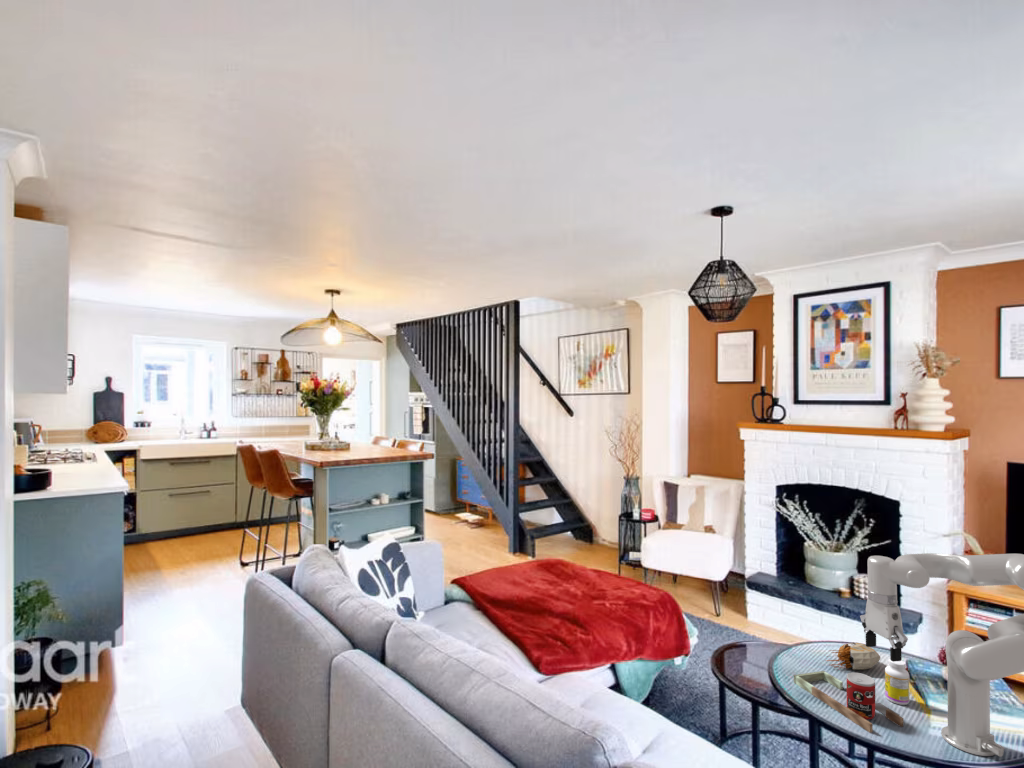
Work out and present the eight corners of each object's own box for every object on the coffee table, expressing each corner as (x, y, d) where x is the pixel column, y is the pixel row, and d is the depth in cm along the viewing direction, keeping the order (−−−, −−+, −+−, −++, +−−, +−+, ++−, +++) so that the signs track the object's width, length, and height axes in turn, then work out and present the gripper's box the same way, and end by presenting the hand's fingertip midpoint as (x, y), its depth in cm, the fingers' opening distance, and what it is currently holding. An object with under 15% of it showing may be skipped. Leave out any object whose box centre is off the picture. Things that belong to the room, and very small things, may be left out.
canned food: (844, 713, 175) (844, 678, 175) (849, 703, 181) (849, 669, 181) (872, 723, 170) (872, 687, 170) (877, 712, 175) (877, 677, 176)
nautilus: (836, 677, 198) (811, 660, 213) (892, 672, 200) (863, 655, 215) (834, 655, 199) (809, 639, 214) (890, 650, 200) (861, 634, 215)
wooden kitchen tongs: (914, 724, 169) (914, 716, 169) (869, 732, 165) (869, 724, 165) (833, 676, 198) (833, 669, 198) (793, 682, 194) (793, 675, 194)
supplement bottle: (887, 692, 188) (887, 654, 188) (911, 700, 183) (911, 661, 183) (882, 700, 183) (882, 661, 183) (907, 708, 178) (906, 668, 178)
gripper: (916, 607, 163) (918, 666, 162) (871, 587, 180) (872, 640, 179) (893, 608, 162) (894, 667, 161) (850, 588, 179) (851, 641, 178)
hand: (883, 653), depth 170 cm, fingers open, 9 cm apart
